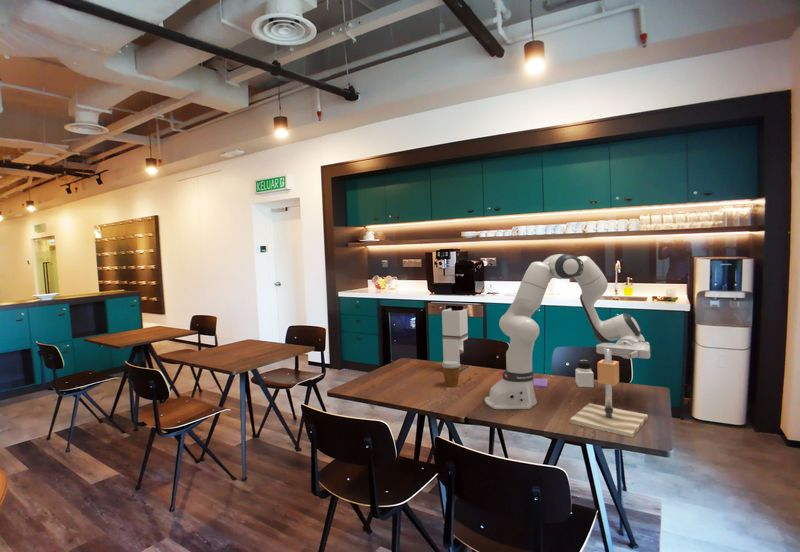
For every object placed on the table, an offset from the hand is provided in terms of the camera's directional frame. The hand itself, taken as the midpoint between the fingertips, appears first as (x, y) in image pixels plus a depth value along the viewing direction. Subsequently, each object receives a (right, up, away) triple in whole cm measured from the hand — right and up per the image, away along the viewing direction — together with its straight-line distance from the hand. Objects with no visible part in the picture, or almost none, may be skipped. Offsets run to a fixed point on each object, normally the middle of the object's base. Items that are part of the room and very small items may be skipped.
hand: (617, 354), depth 174 cm
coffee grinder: (-56, -23, +71) cm, 94 cm away
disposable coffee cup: (-62, -24, +44) cm, 80 cm away
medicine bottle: (+2, -22, +37) cm, 43 cm away
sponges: (-18, -23, +41) cm, 50 cm away
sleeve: (-8, -9, -9) cm, 15 cm away
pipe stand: (-7, -24, -8) cm, 27 cm away
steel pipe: (-8, -23, -8) cm, 25 cm away
